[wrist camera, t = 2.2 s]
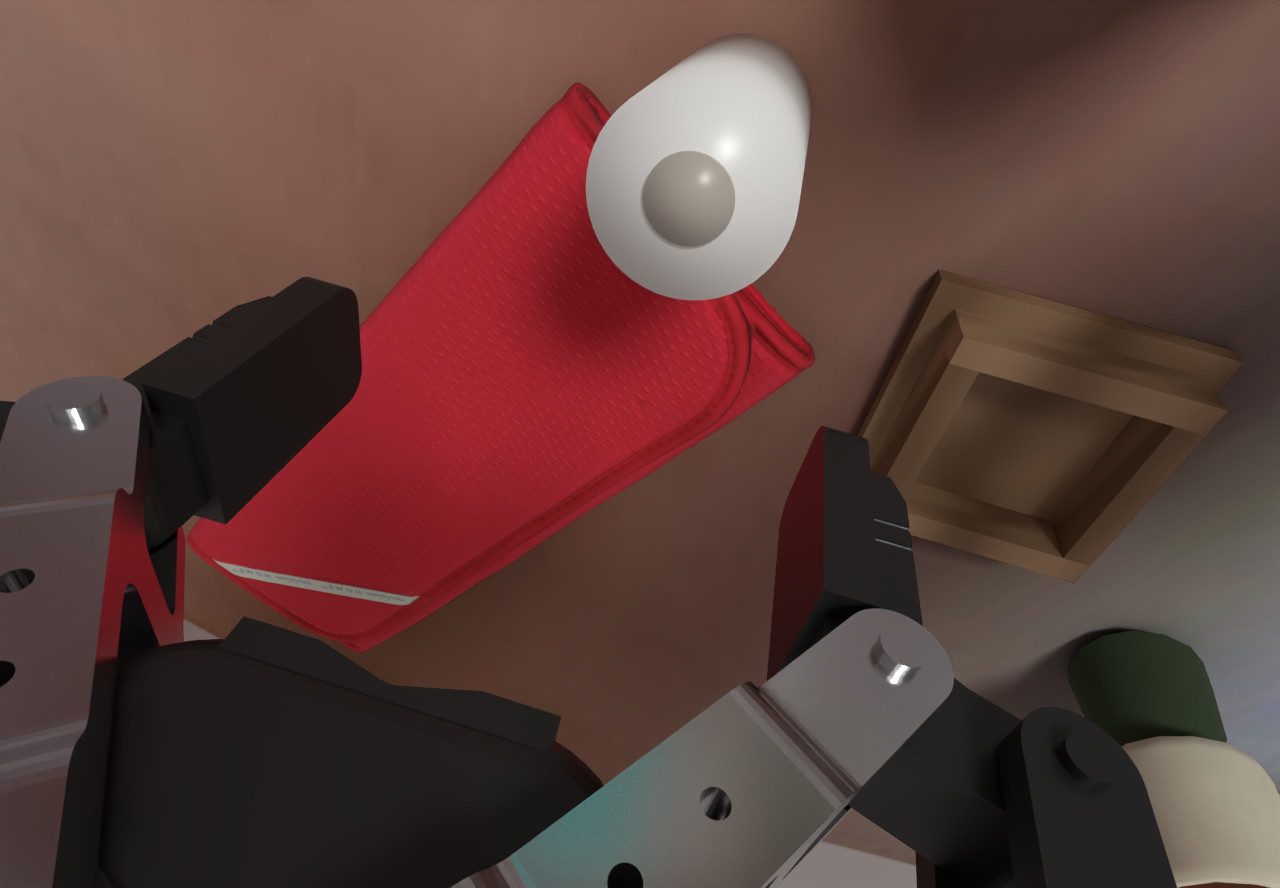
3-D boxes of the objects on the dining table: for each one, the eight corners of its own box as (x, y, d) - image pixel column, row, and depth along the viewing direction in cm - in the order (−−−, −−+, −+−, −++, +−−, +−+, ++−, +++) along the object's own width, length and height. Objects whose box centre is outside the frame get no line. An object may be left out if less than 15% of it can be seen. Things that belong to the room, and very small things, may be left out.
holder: (1233, 350, 28) (1276, 396, 25) (1064, 550, 35) (1083, 603, 33) (938, 270, 29) (949, 306, 26) (833, 482, 36) (833, 529, 33)
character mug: (1040, 711, 43) (1104, 957, 33) (1002, 638, 40) (1060, 883, 30) (1261, 681, 38) (1419, 962, 27) (1236, 594, 35) (1402, 873, 25)
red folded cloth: (823, 351, 33) (822, 393, 30) (383, 635, 55) (357, 675, 52) (583, 72, 28) (554, 90, 25) (208, 507, 50) (169, 543, 47)
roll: (833, 53, 25) (831, 111, 16) (786, 207, 28) (763, 324, 20) (682, 17, 25) (599, 55, 17) (653, 173, 29) (572, 273, 20)
